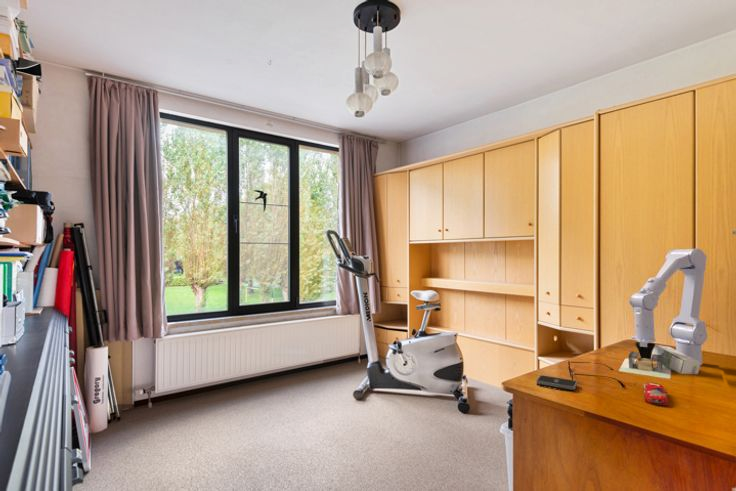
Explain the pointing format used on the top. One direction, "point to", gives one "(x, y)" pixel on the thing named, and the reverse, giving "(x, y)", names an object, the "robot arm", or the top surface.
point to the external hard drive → (557, 383)
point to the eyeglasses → (590, 375)
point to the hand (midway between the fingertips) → (646, 363)
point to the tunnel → (654, 358)
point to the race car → (655, 394)
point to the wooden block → (645, 364)
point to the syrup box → (677, 360)
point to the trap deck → (664, 373)
